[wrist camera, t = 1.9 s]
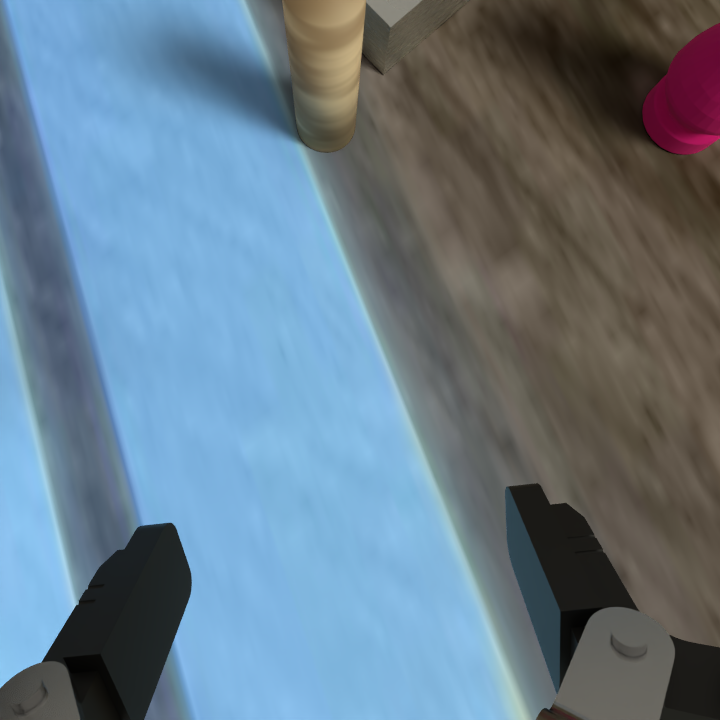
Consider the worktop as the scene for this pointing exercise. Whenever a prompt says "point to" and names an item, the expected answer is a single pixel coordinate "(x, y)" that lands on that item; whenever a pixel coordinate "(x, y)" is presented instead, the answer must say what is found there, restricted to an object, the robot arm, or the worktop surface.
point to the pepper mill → (687, 98)
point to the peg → (325, 68)
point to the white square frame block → (401, 27)
